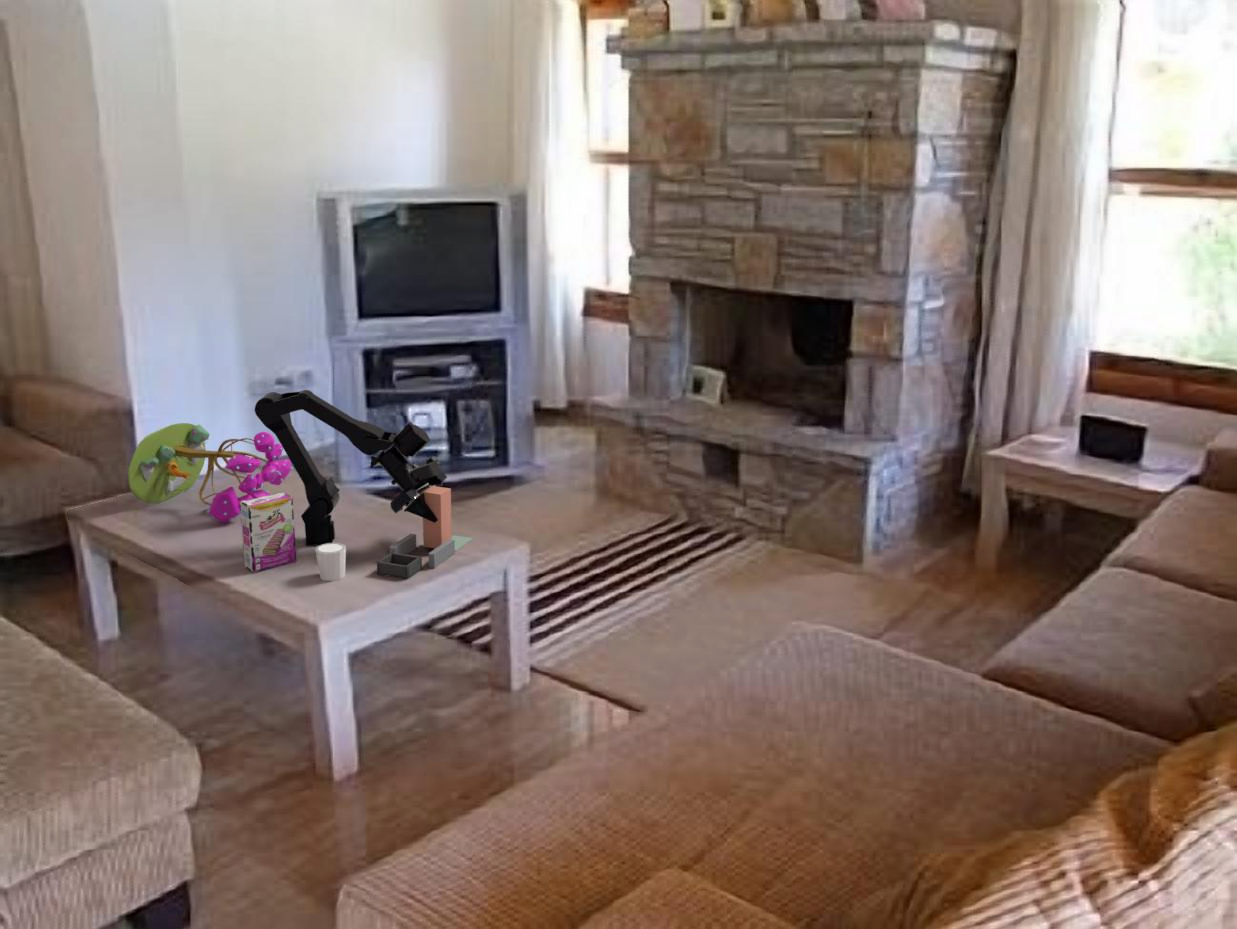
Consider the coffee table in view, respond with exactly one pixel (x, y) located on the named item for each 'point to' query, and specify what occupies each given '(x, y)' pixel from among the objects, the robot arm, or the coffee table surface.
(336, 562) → the white cup
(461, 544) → the sage mat
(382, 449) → the robot arm
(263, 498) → the candy bar box
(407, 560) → the dark grey open box
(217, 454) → the lily pad toy
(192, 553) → the coffee table surface
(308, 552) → the coffee table surface
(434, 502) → the salmon-pink block
